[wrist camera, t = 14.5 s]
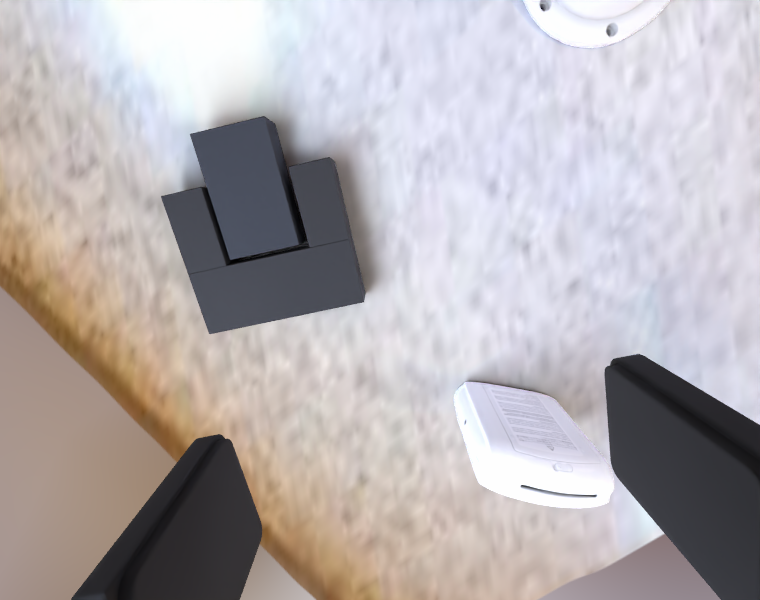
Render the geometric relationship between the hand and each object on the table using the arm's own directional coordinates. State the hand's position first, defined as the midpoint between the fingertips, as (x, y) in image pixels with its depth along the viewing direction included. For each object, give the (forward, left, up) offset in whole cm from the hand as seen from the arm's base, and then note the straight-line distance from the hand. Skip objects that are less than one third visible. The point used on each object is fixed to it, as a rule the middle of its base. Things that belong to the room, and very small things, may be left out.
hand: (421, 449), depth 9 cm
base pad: (-4, -10, -26) cm, 28 cm away
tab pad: (-9, -10, -26) cm, 30 cm away
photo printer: (+16, +8, -26) cm, 32 cm away
